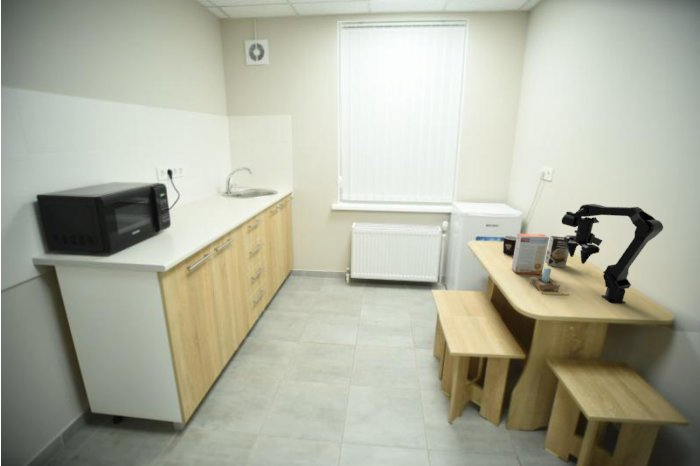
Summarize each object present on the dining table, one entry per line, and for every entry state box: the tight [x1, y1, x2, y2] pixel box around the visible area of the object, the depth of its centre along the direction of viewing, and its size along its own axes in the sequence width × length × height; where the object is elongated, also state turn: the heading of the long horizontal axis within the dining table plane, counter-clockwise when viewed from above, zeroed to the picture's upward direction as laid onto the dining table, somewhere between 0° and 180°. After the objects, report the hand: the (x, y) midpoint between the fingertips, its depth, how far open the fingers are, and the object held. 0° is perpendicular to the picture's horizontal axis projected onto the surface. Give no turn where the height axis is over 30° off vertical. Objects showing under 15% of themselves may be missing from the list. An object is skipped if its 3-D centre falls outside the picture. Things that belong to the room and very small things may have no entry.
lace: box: [538, 290, 570, 296], centre depth 158 cm, size 4×12×1 cm, turn 87°
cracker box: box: [511, 233, 550, 275], centre depth 177 cm, size 14×6×21 cm, turn 86°
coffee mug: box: [502, 235, 517, 256], centre depth 206 cm, size 12×9×10 cm
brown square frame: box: [529, 276, 560, 292], centre depth 162 cm, size 9×9×4 cm
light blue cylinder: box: [541, 266, 552, 283], centre depth 161 cm, size 3×3×10 cm
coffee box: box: [544, 235, 570, 268], centre depth 190 cm, size 9×6×16 cm
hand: (577, 260), depth 166 cm, fingers open, 9 cm apart
